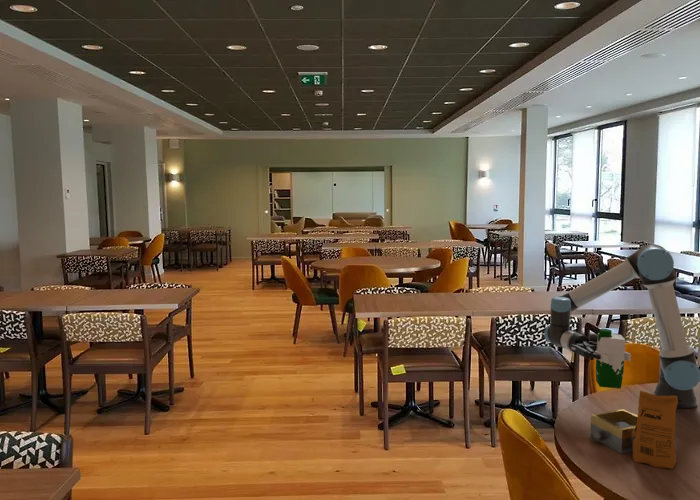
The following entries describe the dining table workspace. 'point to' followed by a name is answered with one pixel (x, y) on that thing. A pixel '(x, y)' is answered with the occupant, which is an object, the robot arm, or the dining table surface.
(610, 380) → the soya milk
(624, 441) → the open square tray
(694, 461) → the dining table surface
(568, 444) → the dining table surface
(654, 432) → the coffee package
